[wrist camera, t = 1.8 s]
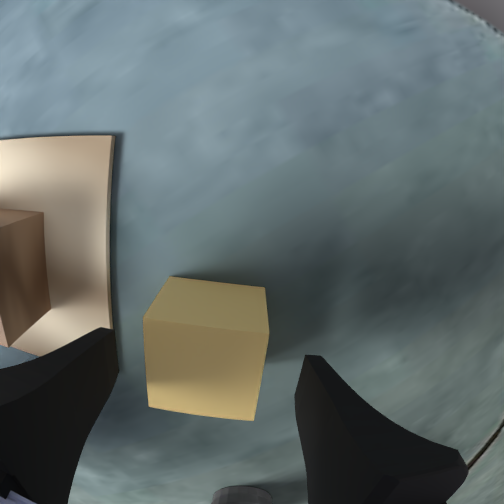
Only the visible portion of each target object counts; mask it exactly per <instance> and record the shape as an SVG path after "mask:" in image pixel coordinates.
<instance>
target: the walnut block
mask: <svg viewBox="0 0 504 504" xmlns="http://www.w3.org/2000/svg"><path fill="white" fill-rule="evenodd" d="M50 310H51V303H50V296H49V287H48V278H47V268H46V255H45V238H44V212H37V211H25V210H14V209H2V208H0V345H3V346H5V347H8V348H9V347H10V346H11V345H12V344H13V343H14V342H15V341H16V340H17V339H18V338H19V337H20V336H21V335H23V334H24V333H25V332H26V331H27V330H28V329H29V328H30V327H31V326H32V325H34V324H35V323H36V322H37V321H38V320H39V319H40V318H42V317H43V316H44V315H45V314H46V313H47V312H48V311H50Z"/></svg>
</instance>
